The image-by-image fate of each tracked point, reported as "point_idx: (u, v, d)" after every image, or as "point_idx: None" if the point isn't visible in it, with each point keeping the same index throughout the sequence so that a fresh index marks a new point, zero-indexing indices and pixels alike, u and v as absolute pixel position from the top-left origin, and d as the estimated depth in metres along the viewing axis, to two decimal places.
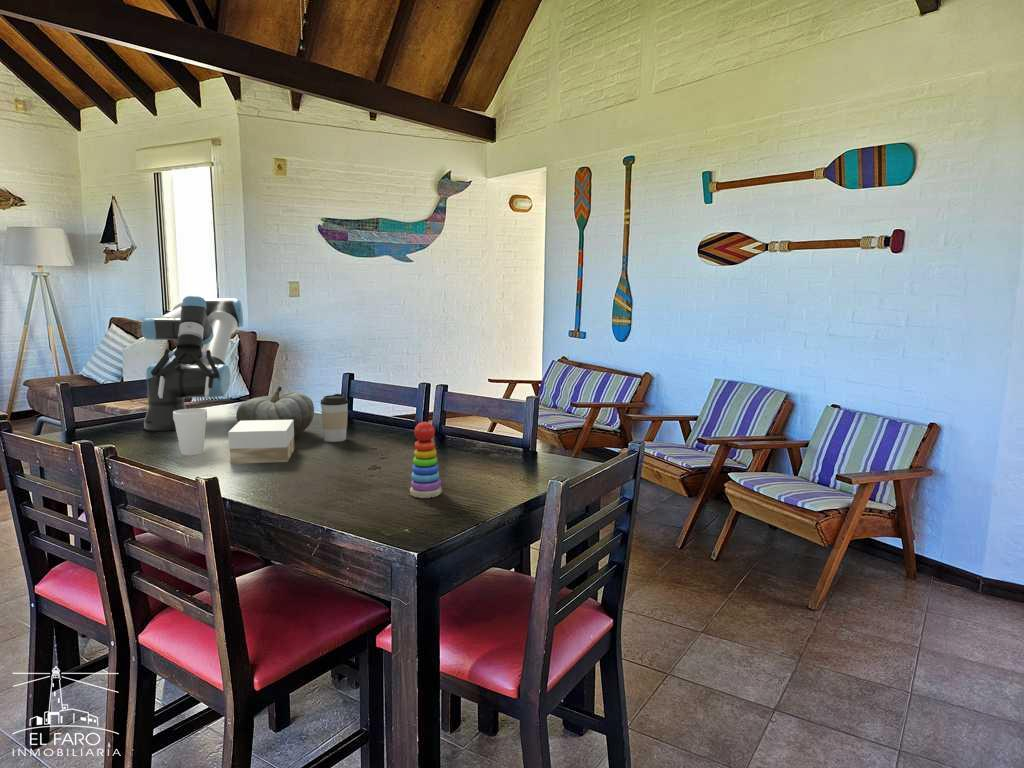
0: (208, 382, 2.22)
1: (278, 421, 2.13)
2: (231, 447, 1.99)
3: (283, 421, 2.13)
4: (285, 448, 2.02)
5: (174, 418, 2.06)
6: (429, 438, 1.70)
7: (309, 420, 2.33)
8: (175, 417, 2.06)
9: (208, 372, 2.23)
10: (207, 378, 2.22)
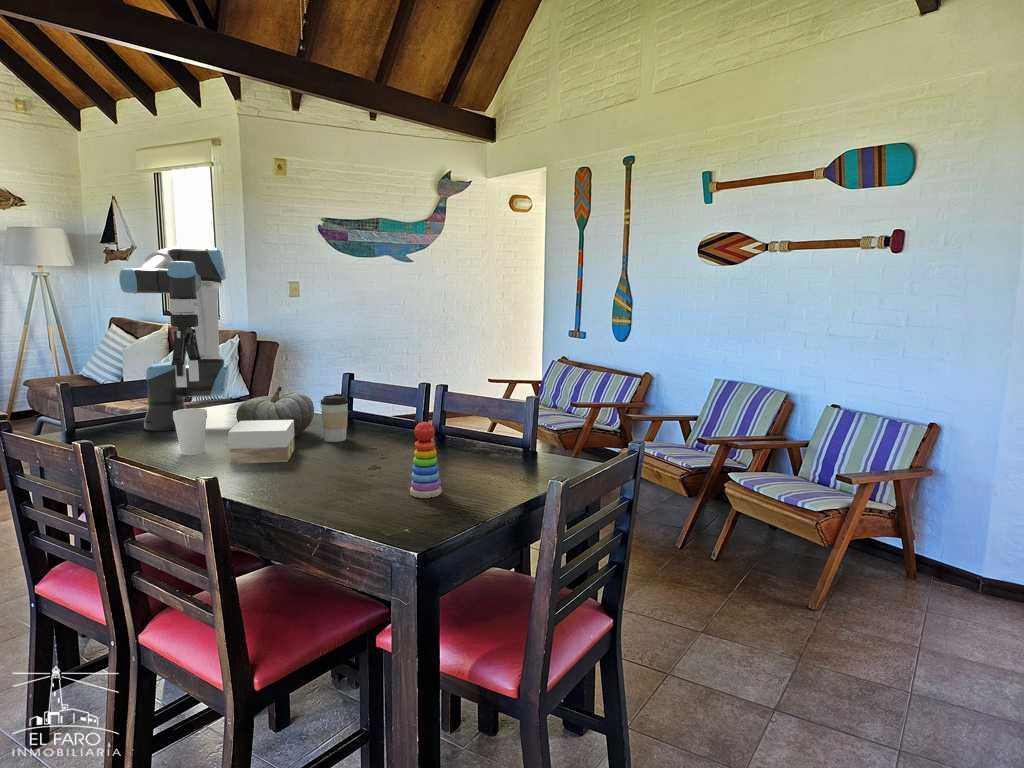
0: None
1: (278, 421, 2.13)
2: (231, 447, 1.99)
3: (283, 421, 2.13)
4: (285, 448, 2.02)
5: (174, 418, 2.06)
6: (429, 438, 1.70)
7: (309, 420, 2.33)
8: (175, 417, 2.06)
9: (196, 355, 2.14)
10: (197, 362, 2.15)
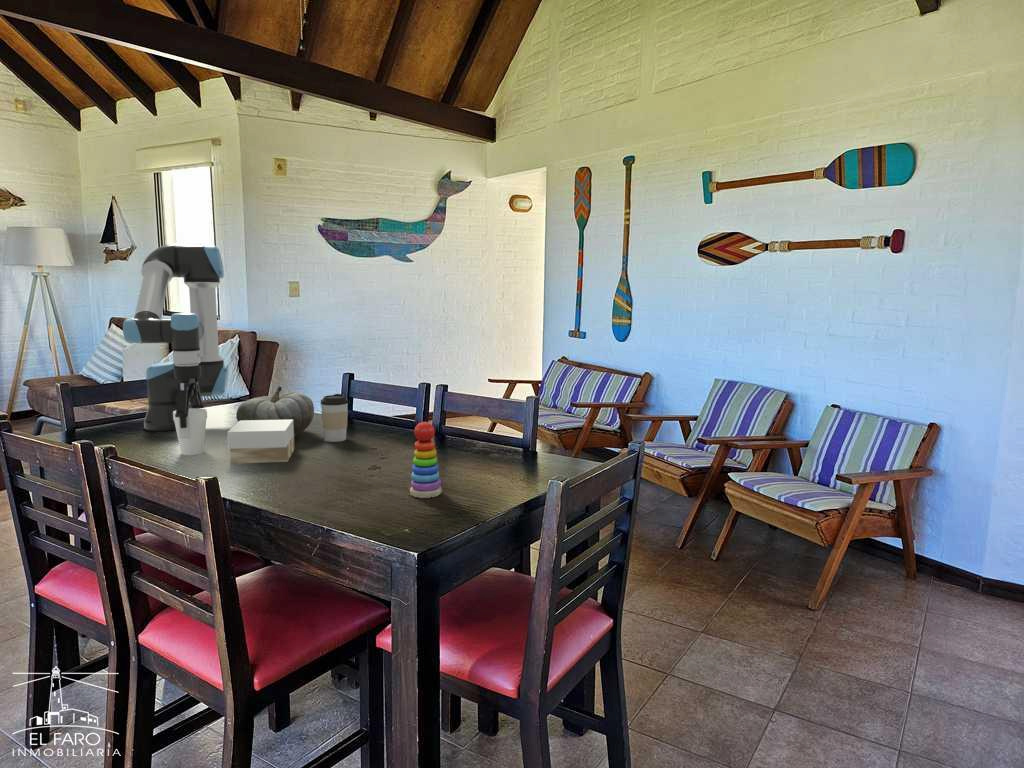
0: None
1: (278, 421, 2.13)
2: (230, 447, 1.99)
3: (283, 421, 2.13)
4: (285, 448, 2.02)
5: (174, 418, 2.06)
6: (429, 438, 1.70)
7: (309, 420, 2.33)
8: (175, 417, 2.06)
9: (199, 403, 2.16)
10: None
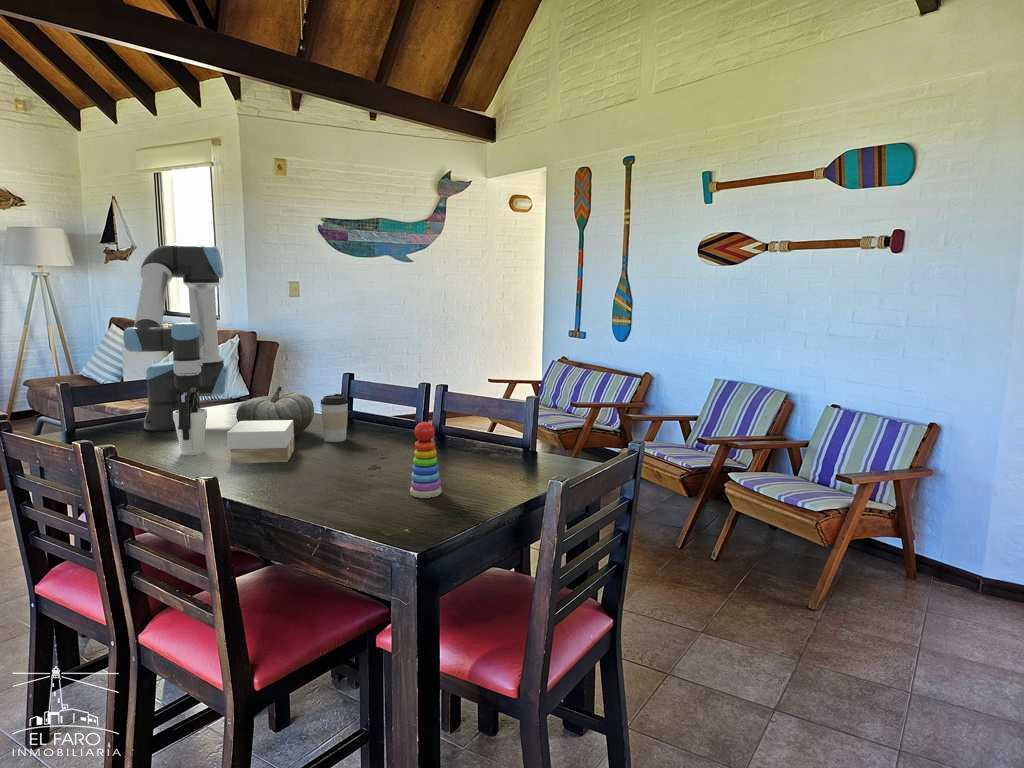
0: None
1: (278, 421, 2.13)
2: (230, 447, 1.99)
3: (283, 421, 2.13)
4: (285, 448, 2.02)
5: (174, 418, 2.06)
6: (429, 438, 1.70)
7: (309, 420, 2.33)
8: (175, 417, 2.06)
9: None
10: None
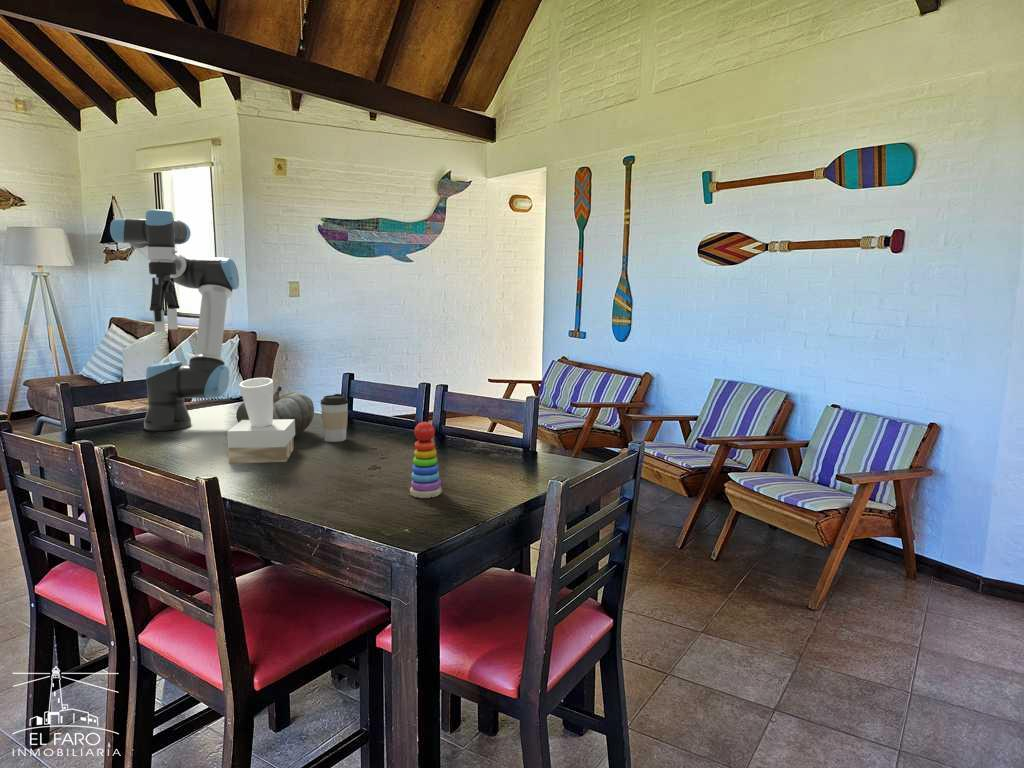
0: None
1: (279, 421, 2.14)
2: (230, 446, 2.00)
3: (284, 421, 2.14)
4: (284, 448, 2.02)
5: (246, 392, 2.00)
6: (429, 438, 1.70)
7: (309, 420, 2.33)
8: (248, 391, 2.00)
9: (175, 303, 2.20)
10: (176, 311, 2.20)
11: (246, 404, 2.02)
